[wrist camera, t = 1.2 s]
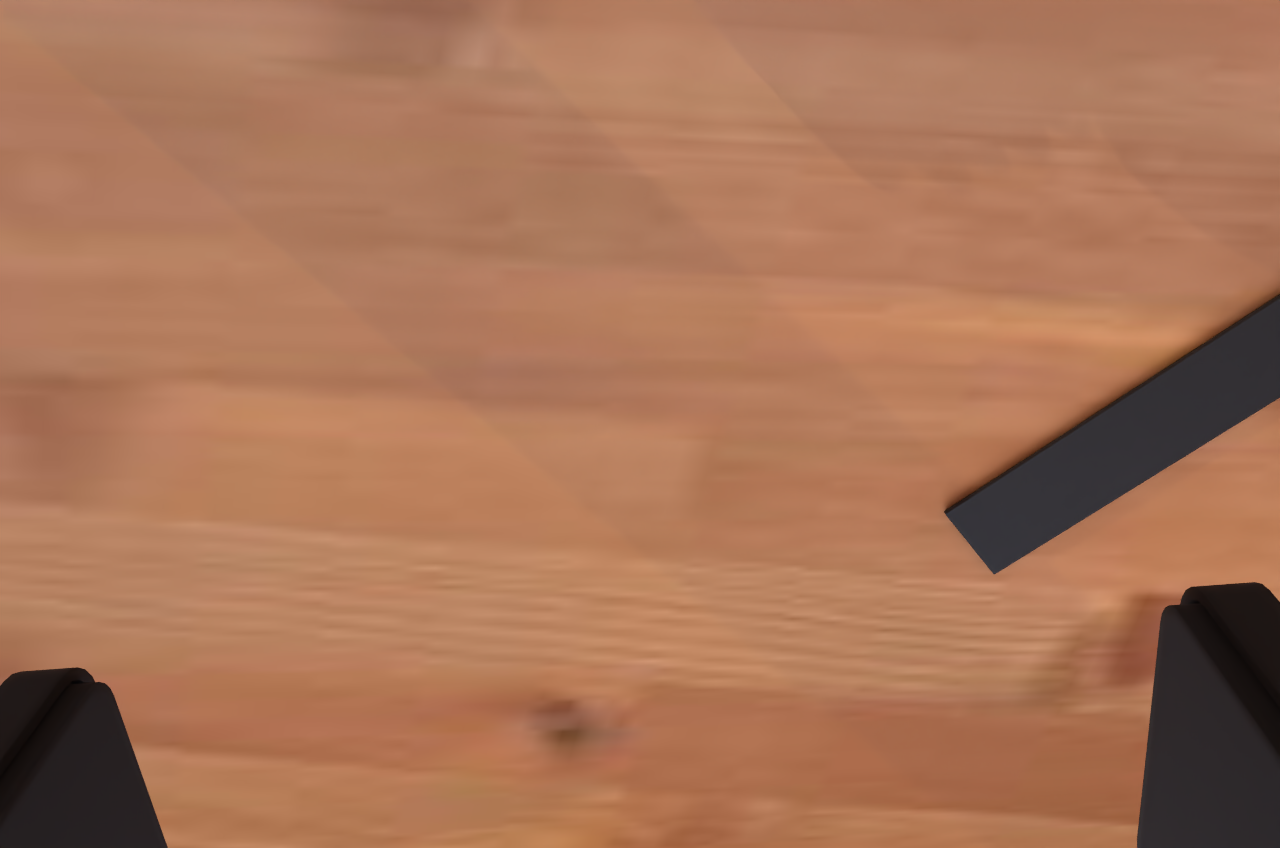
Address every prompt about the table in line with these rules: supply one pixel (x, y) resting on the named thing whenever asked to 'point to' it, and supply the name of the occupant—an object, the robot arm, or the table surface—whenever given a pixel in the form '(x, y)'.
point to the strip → (1126, 441)
